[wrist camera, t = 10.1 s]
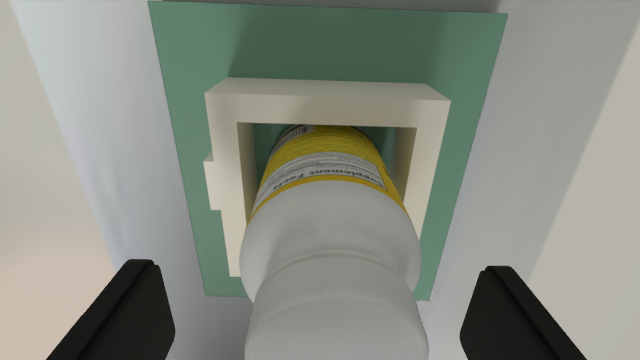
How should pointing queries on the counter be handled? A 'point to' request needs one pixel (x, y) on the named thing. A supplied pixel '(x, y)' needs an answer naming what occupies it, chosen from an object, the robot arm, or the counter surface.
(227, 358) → the counter surface
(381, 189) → the supplement bottle
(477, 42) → the board
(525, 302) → the robot arm
